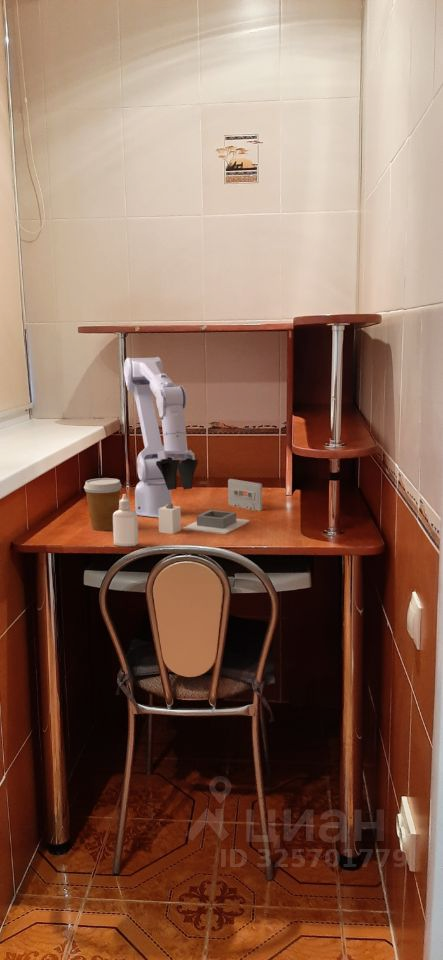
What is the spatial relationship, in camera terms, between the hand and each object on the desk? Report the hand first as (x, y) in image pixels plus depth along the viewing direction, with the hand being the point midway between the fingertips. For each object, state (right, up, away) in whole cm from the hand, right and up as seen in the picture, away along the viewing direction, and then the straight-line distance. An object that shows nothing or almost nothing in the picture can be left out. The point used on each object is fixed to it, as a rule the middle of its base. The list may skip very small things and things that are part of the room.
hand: (180, 489), depth 190 cm
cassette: (+17, -6, +26) cm, 32 cm away
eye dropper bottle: (-12, -13, -10) cm, 20 cm away
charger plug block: (-3, -11, +2) cm, 11 cm away
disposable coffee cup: (-20, -10, +6) cm, 23 cm away
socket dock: (+9, -9, +7) cm, 15 cm away
